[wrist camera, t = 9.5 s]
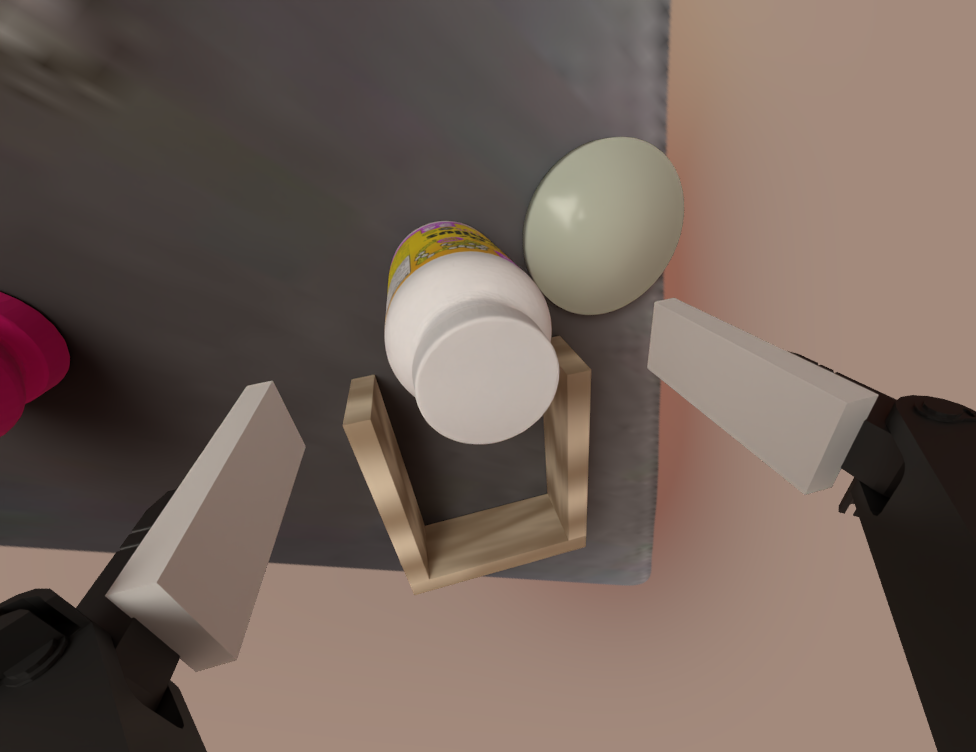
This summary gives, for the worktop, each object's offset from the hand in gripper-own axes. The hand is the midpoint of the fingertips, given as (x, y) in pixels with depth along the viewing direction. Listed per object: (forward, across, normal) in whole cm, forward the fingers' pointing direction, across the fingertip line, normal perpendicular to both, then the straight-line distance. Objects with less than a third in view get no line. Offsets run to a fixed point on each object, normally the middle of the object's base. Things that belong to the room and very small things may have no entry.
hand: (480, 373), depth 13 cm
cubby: (+12, 0, -14) cm, 18 cm away
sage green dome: (+11, +10, +1) cm, 15 cm away
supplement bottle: (+12, 0, 0) cm, 12 cm away
